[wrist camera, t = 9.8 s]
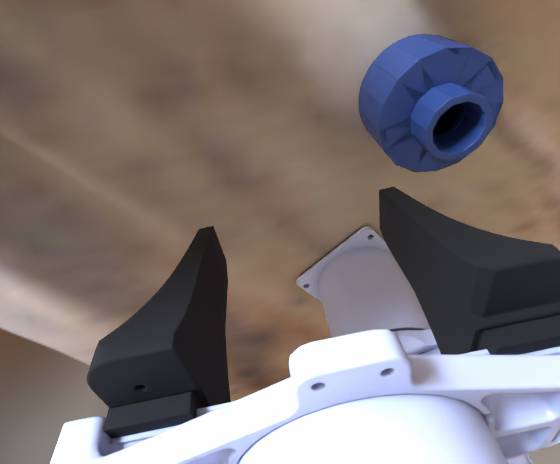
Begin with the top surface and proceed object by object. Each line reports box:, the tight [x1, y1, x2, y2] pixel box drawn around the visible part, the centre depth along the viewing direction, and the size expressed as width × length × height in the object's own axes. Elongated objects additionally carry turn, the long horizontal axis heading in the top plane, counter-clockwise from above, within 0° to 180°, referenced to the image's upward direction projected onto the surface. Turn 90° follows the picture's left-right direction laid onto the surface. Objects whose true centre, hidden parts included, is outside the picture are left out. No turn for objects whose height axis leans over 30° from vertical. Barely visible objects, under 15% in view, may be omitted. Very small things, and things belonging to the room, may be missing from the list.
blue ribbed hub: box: [359, 34, 503, 172], centre depth 21 cm, size 7×7×6 cm
